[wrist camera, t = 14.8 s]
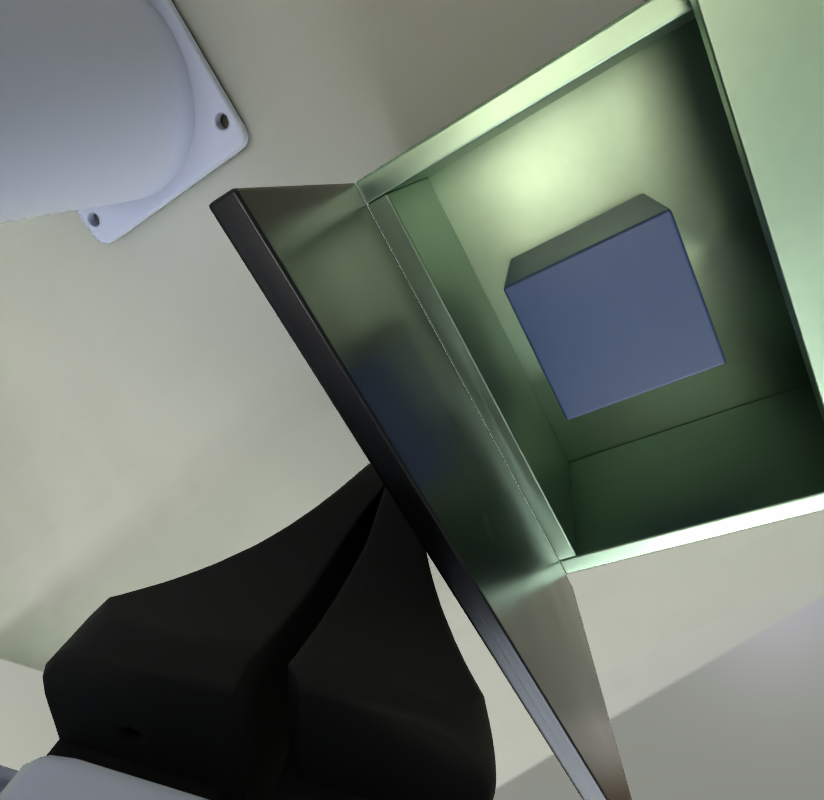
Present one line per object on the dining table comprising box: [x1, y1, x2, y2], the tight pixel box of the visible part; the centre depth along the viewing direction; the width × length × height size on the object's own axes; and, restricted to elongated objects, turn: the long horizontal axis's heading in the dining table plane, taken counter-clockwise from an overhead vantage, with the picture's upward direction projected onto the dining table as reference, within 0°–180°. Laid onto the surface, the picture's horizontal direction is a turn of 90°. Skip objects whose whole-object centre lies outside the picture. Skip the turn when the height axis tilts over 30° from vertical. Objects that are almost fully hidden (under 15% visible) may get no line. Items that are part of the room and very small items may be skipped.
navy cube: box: [504, 194, 726, 420], centre depth 17 cm, size 5×5×4 cm
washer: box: [357, 0, 824, 574], centre depth 15 cm, size 15×13×7 cm
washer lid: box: [209, 183, 632, 800], centre depth 11 cm, size 8×13×1 cm
